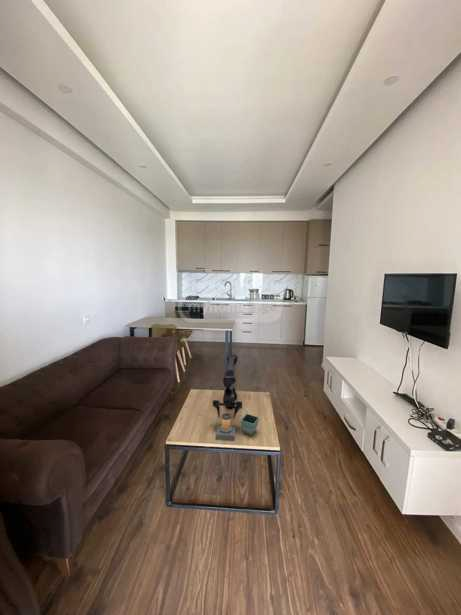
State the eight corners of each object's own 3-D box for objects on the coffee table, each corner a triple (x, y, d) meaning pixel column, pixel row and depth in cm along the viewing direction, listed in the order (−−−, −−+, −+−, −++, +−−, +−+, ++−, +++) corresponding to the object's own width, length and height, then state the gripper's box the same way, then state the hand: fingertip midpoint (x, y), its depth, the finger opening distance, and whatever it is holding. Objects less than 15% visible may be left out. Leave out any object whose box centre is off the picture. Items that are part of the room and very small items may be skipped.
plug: (226, 429, 160) (227, 411, 159) (234, 434, 155) (234, 416, 153) (217, 433, 156) (217, 415, 154) (224, 439, 150) (225, 420, 149)
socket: (218, 428, 161) (218, 423, 161) (235, 429, 160) (235, 424, 160) (215, 439, 150) (215, 434, 150) (234, 440, 150) (234, 435, 149)
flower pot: (258, 430, 160) (259, 417, 159) (253, 438, 152) (253, 424, 151) (246, 426, 164) (246, 413, 163) (240, 433, 156) (240, 420, 155)
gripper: (213, 388, 160) (210, 413, 150) (242, 389, 158) (241, 415, 149) (214, 394, 169) (211, 419, 159) (242, 395, 167) (241, 420, 158)
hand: (226, 418), depth 156 cm, fingers open, 9 cm apart
